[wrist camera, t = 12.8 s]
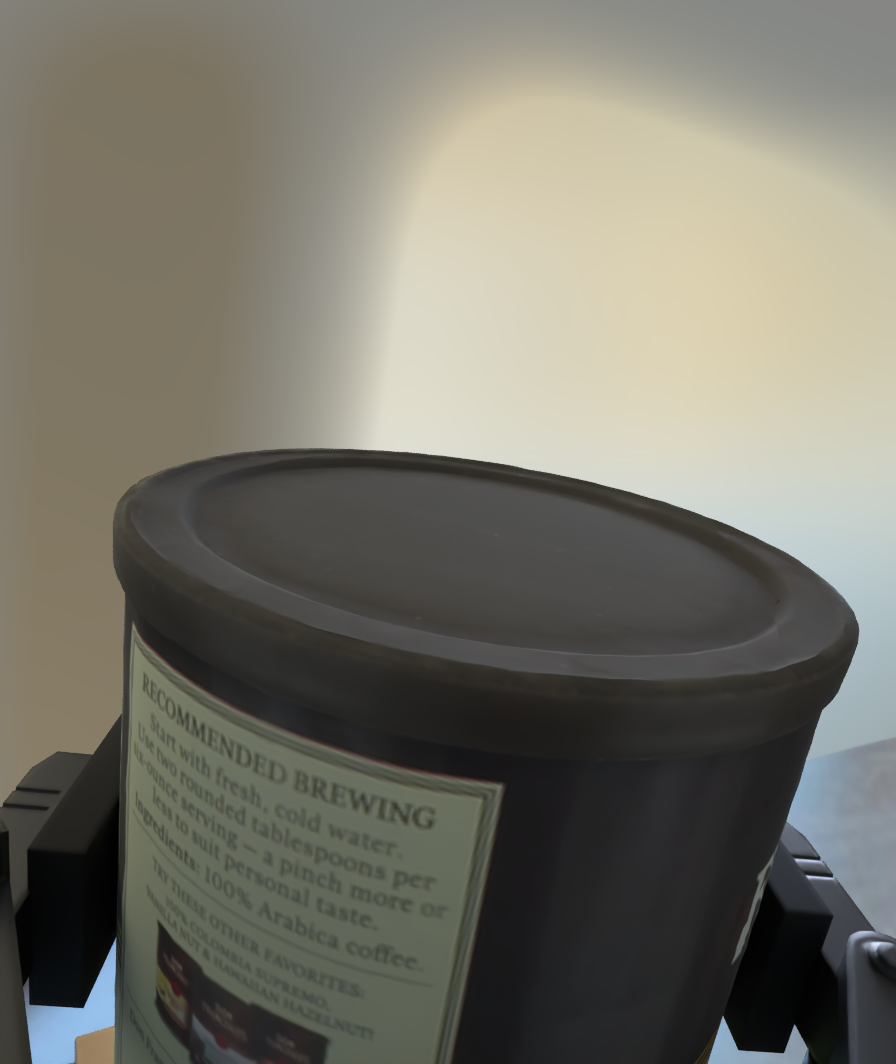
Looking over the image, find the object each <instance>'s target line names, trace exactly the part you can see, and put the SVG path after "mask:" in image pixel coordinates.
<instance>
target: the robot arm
mask: <svg viewBox="0 0 896 1064" xmlns="http://www.w3.org/2000/svg"><path fill="white" fill-rule="evenodd" d="M121 733H122V714H121V715H120V717H119V718H118V720H117V721H116V722H115V724H114V725H113V727H112V728H111V730H110V731H109V732H108V734H107V735H106V737H105V738H104V740H103V741H102V742H101V744H100V746H99V747H98V748H97V750H96V751H95V753H94V754H93V755H89V754H79V753H68V752H56V753H55V754H53V755H51V756H50V757H48V758H46V759H45V760H43V761H42V762H40V763H38V764H37V765H35V766H34V767H32V769H30V771H29V772H28V773H27V774H26V776H25V777H24V778H23V779H22V780H21V782H20V783H19V784H18V785H17V787H16V790H15V791H13V792H12V793H11V794H10V795H9V797H8V798H7V799H6V800H5V802H4V803H3V806H2V807H0V1064H32V1059H31V1050H30V1042H29V1034H28V1025H27V1017H26V1009H25V1000H24V992H23V986H24V984H25V982H26V981H27V979H28V977H29V1005H42V1006H58V1007H73V1008H84V1006H85V1003H86V1001H87V999H88V997H89V995H90V993H91V990H92V988H93V986H94V984H95V982H96V980H97V977H98V975H99V973H100V971H101V969H102V967H103V964H104V962H105V960H106V958H107V956H108V954H109V951H110V949H111V947H112V945H113V943H114V940H115V938H116V936H117V885H118V858H119V806H120V762H121ZM723 1016H724V1019H725V1021H726V1023H727V1025H728V1028H729V1030H730V1032H731V1034H732V1037H733V1039H734V1041H735V1043H736V1046H737V1048H738V1050H742V1051H757V1052H773V1053H784V1051H785V1049H786V1046H787V1043H788V1040H789V1038H790V1035H791V1032H792V1029H793V1027H794V1024H795V1025H796V1027H797V1029H798V1031H799V1033H800V1035H801V1037H802V1038H803V1040H804V1042H805V1044H806V1046H807V1048H808V1049H807V1052H806V1055H805V1057H804V1060H803V1063H802V1064H896V939H895V938H893V937H891V936H888V935H884V934H881V933H878V932H876V931H875V930H874V929H873V927H872V926H871V925H870V923H869V922H868V920H867V919H866V918H865V916H864V915H863V914H862V912H861V911H860V910H859V908H858V907H857V906H856V904H855V903H854V902H853V900H852V899H851V898H850V896H849V895H848V894H847V892H846V891H845V890H844V888H843V887H842V886H841V884H840V883H839V882H838V880H837V879H836V878H833V873H832V872H831V871H830V869H829V868H828V867H827V865H826V864H825V863H824V861H821V860H820V856H819V855H818V853H817V852H816V851H815V849H814V848H813V847H812V845H811V844H810V843H809V841H808V840H807V839H806V837H805V836H803V835H802V834H801V833H800V832H799V831H797V830H796V829H795V828H794V827H792V826H791V825H790V824H789V823H787V822H786V824H785V826H784V829H783V832H782V834H781V837H780V840H779V843H778V846H777V850H776V854H775V858H774V861H773V865H772V869H771V872H770V874H769V877H768V880H767V883H766V886H765V889H764V893H763V896H762V900H761V903H760V907H759V910H758V913H757V916H756V918H755V921H754V923H753V926H752V929H751V933H750V936H749V940H748V944H747V948H746V950H745V952H744V955H743V957H742V959H741V962H740V965H739V968H738V971H737V974H736V977H735V980H734V984H733V987H732V990H731V993H730V996H729V998H728V1001H727V1004H726V1007H725V1010H724V1013H723Z"/></svg>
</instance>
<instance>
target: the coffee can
mask: <svg viewBox="0 0 896 1064" xmlns="http://www.w3.org/2000/svg"><path fill="white" fill-rule="evenodd" d="M113 561H114V568H115V570H116V574H117V577H118V579H119V581H120V583H121V585H122V588H123V590H124V592H125V613H124V645H123V699H122V733H121V762H120V806H119V858H118V885H117V937H116V976H115V1035H114V1064H708V1060H709V1057H710V1054H711V1051H712V1048H713V1044H714V1041H715V1038H716V1035H717V1032H718V1029H719V1026H720V1023H721V1019H722V1016H723V1013H724V1010H725V1007H726V1004H727V1001H728V998H729V996H730V993H731V990H732V987H733V984H734V980H735V977H736V974H737V971H738V968H739V965H740V962H741V959H742V957H743V955H744V952H745V950H746V948H747V944H748V940H749V936H750V933H751V929H752V926H753V923H754V921H755V918H756V916H757V913H758V910H759V907H760V903H761V900H762V896H763V893H764V889H765V886H766V883H767V880H768V877H769V874H770V872H771V869H772V865H773V861H774V858H775V854H776V850H777V846H778V843H779V840H780V837H781V834H782V832H783V829H784V826H785V824H786V820H787V817H788V814H789V810H790V807H791V804H792V801H793V798H794V796H795V793H796V790H797V788H798V785H799V782H800V779H801V775H802V772H803V769H804V765H805V761H806V758H807V755H808V752H809V749H810V746H811V744H812V740H813V736H814V733H815V729H816V727H817V723H818V721H819V718H820V715H821V712H822V710H823V709H824V708H825V707H826V706H827V705H828V704H829V703H830V702H831V701H832V700H833V698H834V697H835V696H836V694H837V693H838V691H839V689H840V686H841V684H842V682H843V679H844V677H845V675H846V673H847V671H848V668H849V666H850V664H851V661H852V658H853V655H854V653H855V650H856V647H857V644H858V637H859V626H858V623H857V620H856V617H855V614H854V612H853V610H852V609H851V608H850V606H849V605H848V603H847V602H846V601H845V599H844V598H843V597H842V596H841V595H840V594H839V593H838V592H837V590H836V589H835V588H834V587H832V586H831V585H830V584H829V583H828V582H826V581H825V580H824V579H823V578H821V577H820V576H819V575H818V574H816V573H815V572H814V571H812V570H811V569H810V568H808V567H807V566H805V565H804V564H803V563H801V562H800V561H799V560H797V559H796V558H794V557H792V556H791V555H789V554H787V553H786V552H784V551H782V550H780V549H778V548H776V547H774V546H771V545H769V544H767V543H765V542H763V541H761V540H759V539H757V538H756V537H753V536H751V535H749V534H746V533H744V532H742V531H740V530H738V529H735V528H734V527H731V526H729V525H727V524H724V523H722V522H719V521H717V520H713V519H710V518H707V517H705V516H702V515H700V514H697V513H695V512H692V511H689V510H686V509H683V508H680V507H677V506H674V505H671V504H668V503H666V502H663V501H659V500H655V499H651V498H647V497H644V496H640V495H638V494H634V493H631V492H627V491H623V490H620V489H615V488H611V487H607V486H603V485H600V484H596V483H593V482H588V481H583V480H579V479H575V478H570V477H565V476H560V475H556V474H551V473H545V472H540V471H534V470H528V469H523V468H519V467H515V466H510V465H504V464H498V463H491V462H483V461H477V460H469V459H462V458H455V457H447V456H437V455H427V454H419V453H409V452H392V451H375V450H355V449H323V448H313V449H312V448H308V449H278V450H262V451H255V452H243V453H234V454H228V455H223V456H217V457H211V458H207V459H202V460H198V461H193V462H189V463H186V464H182V465H178V466H174V467H171V468H168V469H165V470H163V471H160V472H158V473H156V474H153V475H151V476H148V477H145V478H144V479H142V480H140V481H139V482H138V483H137V484H135V485H133V486H132V487H130V488H129V489H128V491H127V492H126V493H125V494H124V495H123V496H122V498H121V499H120V501H119V502H118V504H117V506H116V509H115V513H114V521H113Z"/></svg>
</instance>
